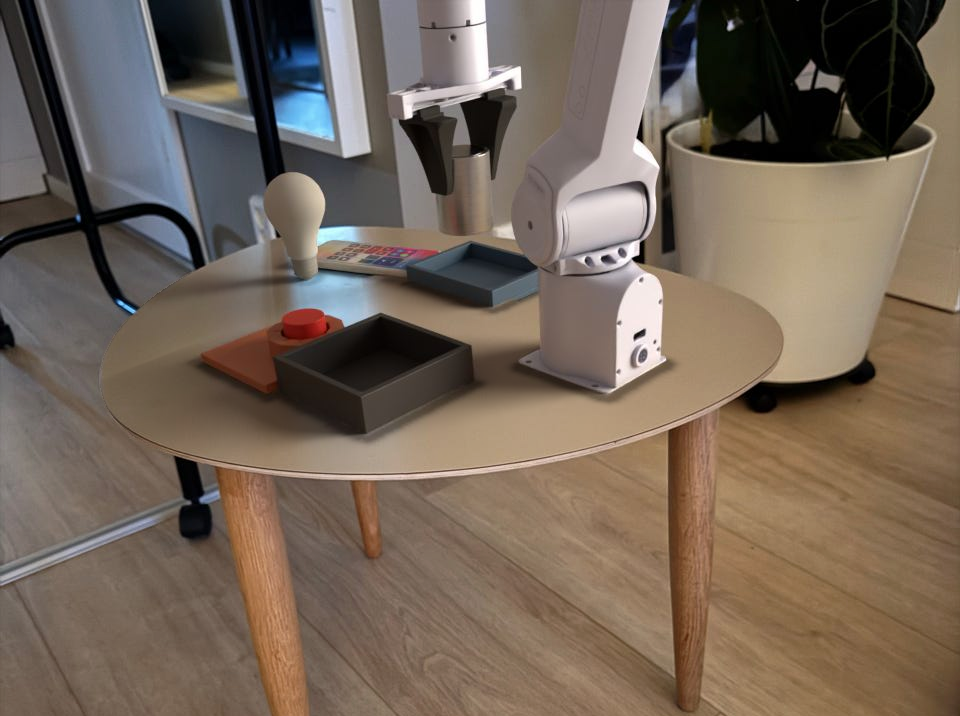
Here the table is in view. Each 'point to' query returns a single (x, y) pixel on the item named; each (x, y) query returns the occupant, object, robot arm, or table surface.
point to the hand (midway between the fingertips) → (464, 185)
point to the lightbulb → (296, 218)
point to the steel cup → (467, 193)
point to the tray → (477, 273)
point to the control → (259, 354)
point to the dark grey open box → (374, 371)
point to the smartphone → (369, 257)
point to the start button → (304, 324)
